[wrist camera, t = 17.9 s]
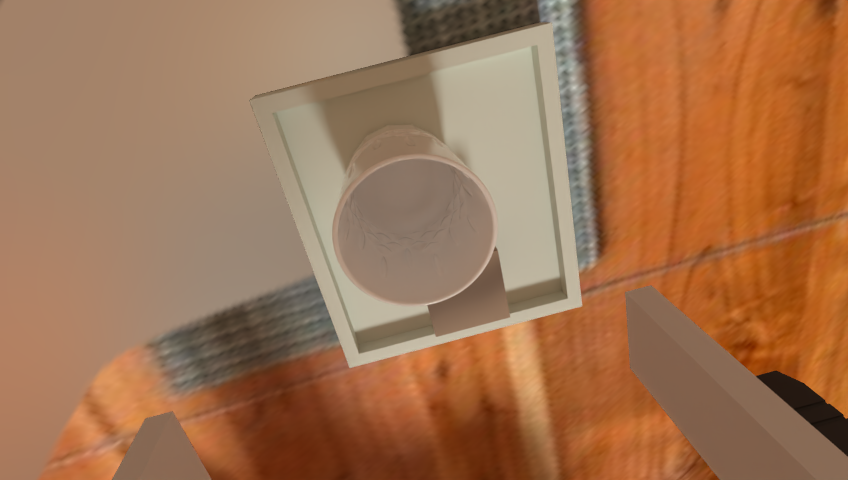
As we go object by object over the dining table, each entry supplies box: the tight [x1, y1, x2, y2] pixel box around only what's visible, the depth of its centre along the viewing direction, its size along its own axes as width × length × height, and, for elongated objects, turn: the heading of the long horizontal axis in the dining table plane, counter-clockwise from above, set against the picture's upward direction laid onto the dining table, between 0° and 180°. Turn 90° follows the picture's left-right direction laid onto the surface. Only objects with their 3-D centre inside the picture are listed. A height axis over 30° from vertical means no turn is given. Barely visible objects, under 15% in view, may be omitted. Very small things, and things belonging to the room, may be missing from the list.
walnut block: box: [427, 246, 510, 337], centre depth 33 cm, size 5×5×5 cm
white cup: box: [332, 124, 498, 307], centre depth 28 cm, size 8×8×10 cm
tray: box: [249, 22, 582, 368], centre depth 33 cm, size 20×18×2 cm
